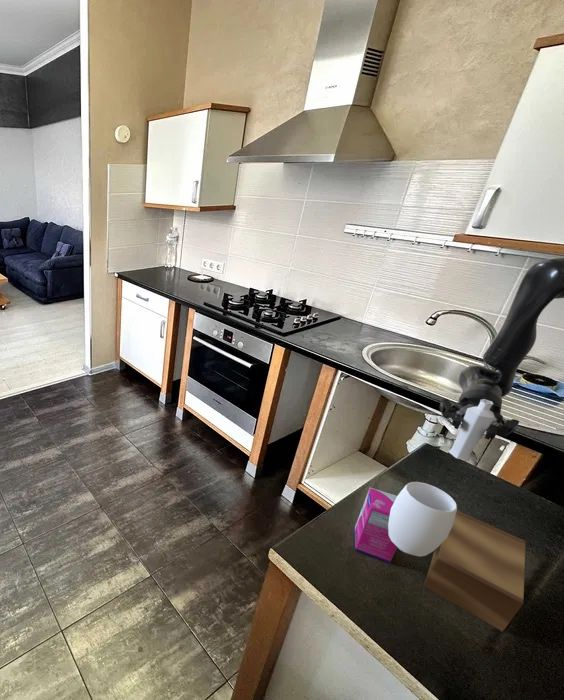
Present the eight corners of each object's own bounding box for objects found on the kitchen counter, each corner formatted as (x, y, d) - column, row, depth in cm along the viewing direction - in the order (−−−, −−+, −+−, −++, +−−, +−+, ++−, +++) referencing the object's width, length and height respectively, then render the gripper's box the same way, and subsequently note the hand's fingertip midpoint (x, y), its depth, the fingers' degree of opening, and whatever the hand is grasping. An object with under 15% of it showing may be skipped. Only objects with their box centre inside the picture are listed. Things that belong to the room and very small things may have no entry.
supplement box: (352, 528, 77) (369, 485, 72) (387, 541, 74) (407, 498, 69) (353, 550, 72) (371, 506, 67) (390, 565, 69) (412, 520, 65)
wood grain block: (438, 533, 76) (451, 508, 73) (507, 567, 69) (525, 541, 66) (423, 586, 66) (438, 558, 63) (502, 632, 59) (523, 604, 56)
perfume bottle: (463, 463, 86) (493, 409, 80) (443, 451, 90) (469, 398, 84) (477, 459, 87) (507, 405, 81) (456, 448, 91) (483, 395, 85)
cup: (360, 559, 70) (397, 473, 62) (408, 576, 67) (453, 488, 59) (365, 593, 64) (406, 503, 56) (417, 613, 61) (469, 522, 53)
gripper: (448, 379, 98) (437, 403, 87) (527, 400, 88) (526, 430, 77) (437, 404, 101) (426, 430, 90) (513, 427, 91) (510, 459, 80)
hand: (473, 430), depth 84 cm, fingers closed on perfume bottle, 4 cm apart
